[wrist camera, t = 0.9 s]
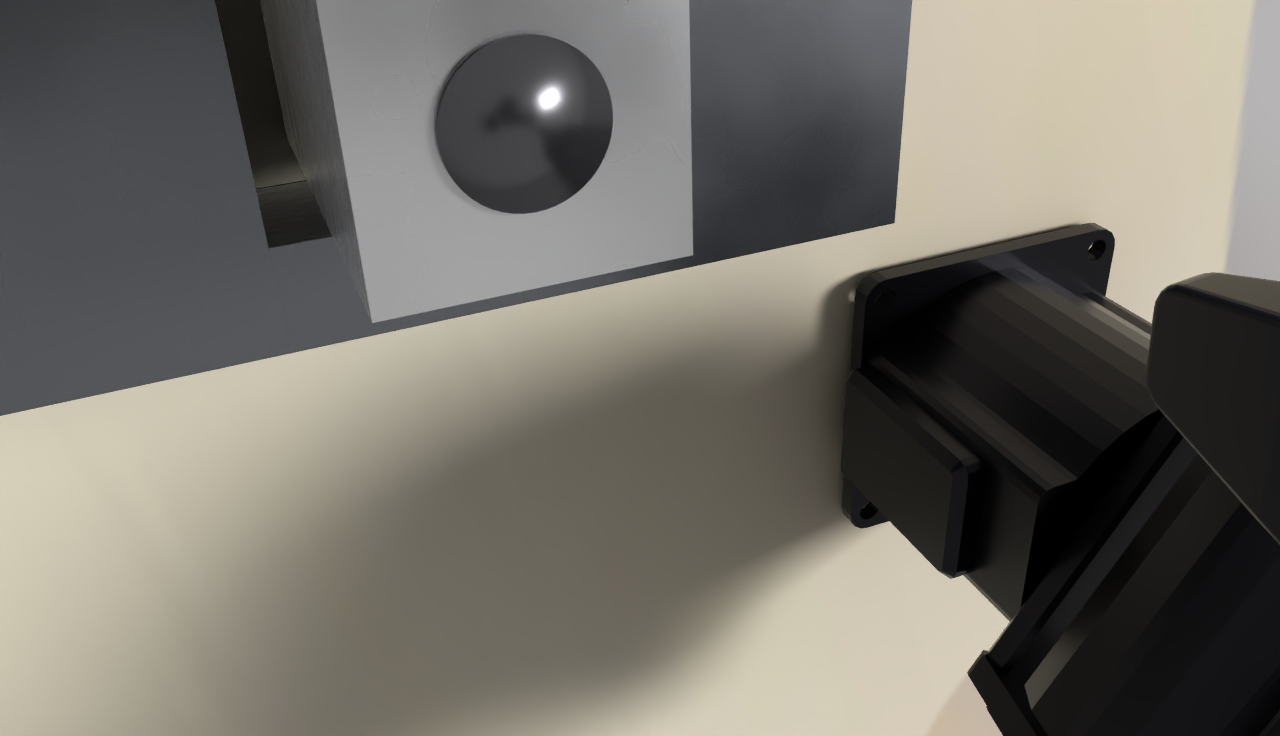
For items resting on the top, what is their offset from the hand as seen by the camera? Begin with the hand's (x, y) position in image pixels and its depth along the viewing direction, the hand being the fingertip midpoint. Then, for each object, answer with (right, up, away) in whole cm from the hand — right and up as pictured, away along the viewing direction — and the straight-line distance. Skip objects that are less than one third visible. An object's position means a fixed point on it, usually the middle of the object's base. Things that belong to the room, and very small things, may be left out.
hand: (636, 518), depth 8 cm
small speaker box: (-4, +7, +10) cm, 13 cm away
